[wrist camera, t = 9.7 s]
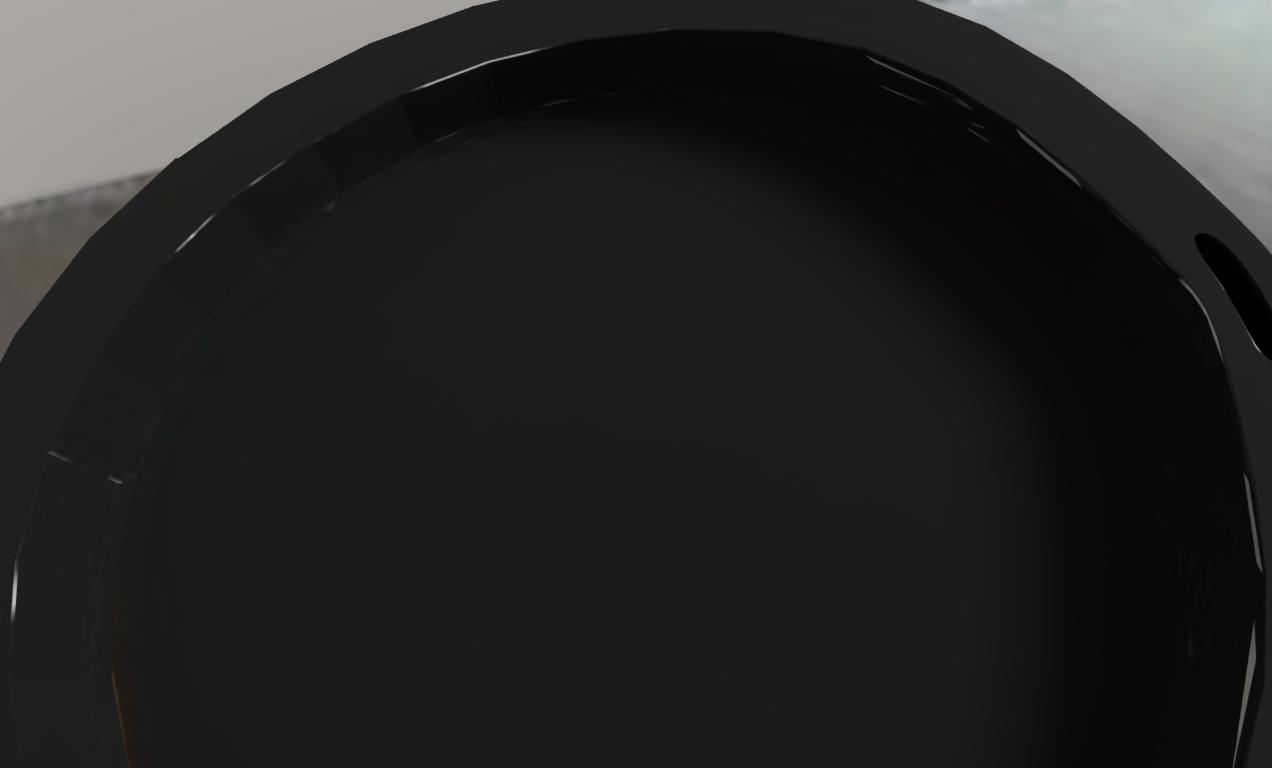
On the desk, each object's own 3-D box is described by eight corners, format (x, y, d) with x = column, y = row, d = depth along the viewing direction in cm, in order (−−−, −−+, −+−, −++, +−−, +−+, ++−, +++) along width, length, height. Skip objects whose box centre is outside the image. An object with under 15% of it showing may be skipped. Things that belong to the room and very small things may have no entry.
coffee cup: (893, 804, 17) (1939, 1164, 3) (483, 946, 17) (-352, 2191, 3) (753, 424, 20) (1011, -222, 6) (398, 528, 19) (-212, 43, 5)
